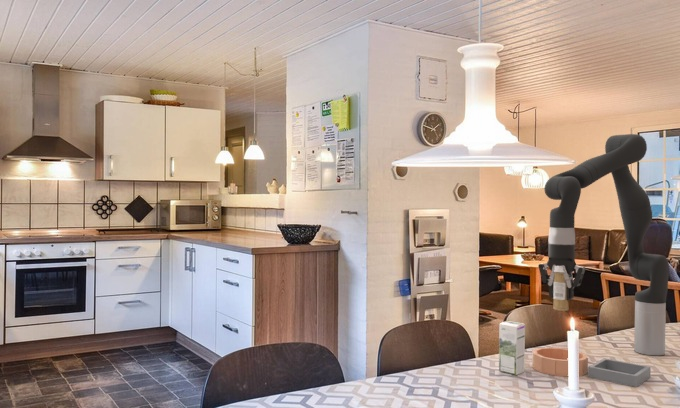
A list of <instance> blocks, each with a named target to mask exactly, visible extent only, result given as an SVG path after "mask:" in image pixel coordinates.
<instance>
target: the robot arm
mask: <svg viewBox="0 0 680 408" xmlns="http://www.w3.org/2000/svg"><path fill="white" fill-rule="evenodd" d="M604 147H605V148H604V149H605V150H604V151H605V153H603V154H601V155H597V156H594V157H592V158H589V159H587V160H585V161H582V162H581V163H579V164H578V165H576V166H575V167H573V168H572V169H571V168H570V169H568V170H566V171H563V172H560V173H557V174H556V175H552V176H551V177H550V178H549V179H547V181H546V183H545V185H544V194H545V196H546V197H547V198H549V199H551V200H555V201H557V200H558V201H560V203H559V206H558V207H554V208H552V209H551V210H550V213H549V231H548V238H547V239H548V240H547V241H548V252H547V253H548V261H547V262H545V263H539V264H538V270H539V274H540V277H541V281H542V283H543V284H546V285H548V296H549V297H550V299H554V298H553V282H554V275H555V272H554V270H555V266H562V267H563V271H564V274H563V275H564V278H565V281H566V283H567V286H568V288H567V300H568V301H572V299H573V298H574V296H575V292H574V291H575V287H579V286H581V284H582V281H583V279H584V274H585V272H586V267H585V266H579V265H578V264H577V263H576V261H575V260H576V231H575V218H576V217H575V215H576V211H577V208H578V205H579V201H580V198H581V193H582V189H585V188H587V187H589V186H591V185H592V184H593V183H595V182H597V181H599V180H600V179H602V178H604V177H605V176H607V175H609V174H611V175H612V179H613V183H614V186H615V191H616V195H617V200H618V207H619V211H620V217H621V220H622V224H623V228H624V229H623V230H624V234H625V240H626V247H627V248H626V249H627V256H628V257H627V258H628V259H627V260H628V266H629V271H630V274H631V276H632V277H633V278H634V279H635V280H638V281H645V282H650V283H649V287H648V288H646V289H643V290H638V291H636V292H635V295H634V341H633V342H634V347H633V348H634V352H636V353H639V354H642V355H648V356H664V355H665V354H666V318H667V317H666V313H667V312H666V308H667V306H666V305H667V303H666V302H667V295H668V289H669V288H668V287H669V276H670V275H669V274H670V272H669V271H670V266H669V265H670V264H669V262H668V258H667V257H666V256H665V255H663V254H662V255H661V254H655V253H654V254H653V253H645V249H644V237H645V235H646V233H647V232H648V230H649V228H650V225H651V223H652V220H653V211H652V206H651V205H652V204H651V201H650V197H649V196H648V193H647V192H646V191H645V190H644V189H643V187H642V186H641V185H640V183H639V182H638V181H637V180H636V179H635V178H634V176H633V175H632V173H631V171H630V170H631V169H630V166H629V165H632V164H634V163H637V162H640V161H641V160H642V159H643V158H644V157H645V156H646V154H647V150H648V145H647V141H646V140H645V138H644V137H643V136H642V135H640V134H635V133H628V134H616V135H611V136H609V137H608V138H607V139H606V141H605V146H604ZM566 268H567V269H566ZM548 269H549V270H550V274H549V273H548ZM574 270H575V273H576V275H575V278H574V277H573V272H574Z"/></svg>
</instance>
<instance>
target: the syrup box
mask: <svg viewBox="0 0 680 408" xmlns="http://www.w3.org/2000/svg"><path fill="white" fill-rule="evenodd" d="M498 329H499V330H498V331H499V333H498V334H499V337H498V341H499V342H498V344H499V345H498V351H499V352H498V353H499V354H498V359H499V360H498V362H499V363H498V368H499V369H498V371H499V372H501V373H505V374H509V375H515V376H517V375H520V374H522V373H524V372H525V370H526V369H525V364H526V363H525V357H526V356H525V351H526V349H525V348H526V346H525V344H526V343H525V341H526V324H525V323H523V322H517V321H511V320H510V321H509V320H505V321H502V322H500V323H499V328H498Z"/></svg>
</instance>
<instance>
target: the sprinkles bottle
mask: <svg viewBox="0 0 680 408" xmlns="http://www.w3.org/2000/svg"><path fill="white" fill-rule="evenodd" d="M566 269H567V268H566ZM554 272H555V275H554V282H553V298H552V299H553V307H552V309H553V310H555V311H558V312H559V311H560V312H566V311H567V312H568V311H569V309H570V308H569V307H570V306H569V300H567V288H568V286H567V283H566V281H565V278H564V275H563V274H564V271H563V267H562V266H555V270H554Z"/></svg>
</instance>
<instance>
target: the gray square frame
mask: <svg viewBox="0 0 680 408" xmlns="http://www.w3.org/2000/svg"><path fill="white" fill-rule="evenodd" d="M651 367H652V366H647V365H643V364H637V363H633V362H632V363H631V362H626V361H622V360H617V359H612V358H611V359H610V358H605V357H604V358H602V359H600V360H598V361H596V362H594V363H593V364H591V365H588V373H587V375H588V376H587V378H590V379H596V380H600V381H605V382H611V383H615V384H620V385H624V386H630V387H635V388H638V387H639V386H640V385H642V384H643V383H645V382H646V381H647V380H649V379H650V378H651V371H652V369H651Z"/></svg>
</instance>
